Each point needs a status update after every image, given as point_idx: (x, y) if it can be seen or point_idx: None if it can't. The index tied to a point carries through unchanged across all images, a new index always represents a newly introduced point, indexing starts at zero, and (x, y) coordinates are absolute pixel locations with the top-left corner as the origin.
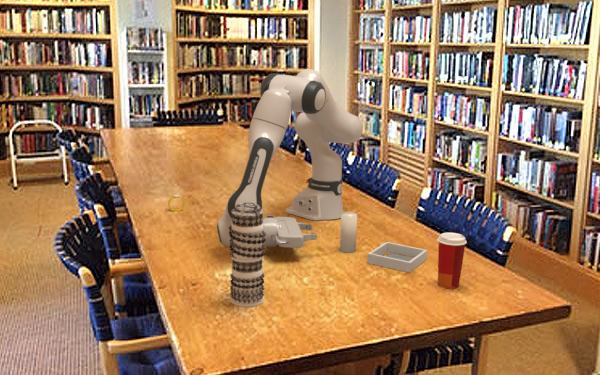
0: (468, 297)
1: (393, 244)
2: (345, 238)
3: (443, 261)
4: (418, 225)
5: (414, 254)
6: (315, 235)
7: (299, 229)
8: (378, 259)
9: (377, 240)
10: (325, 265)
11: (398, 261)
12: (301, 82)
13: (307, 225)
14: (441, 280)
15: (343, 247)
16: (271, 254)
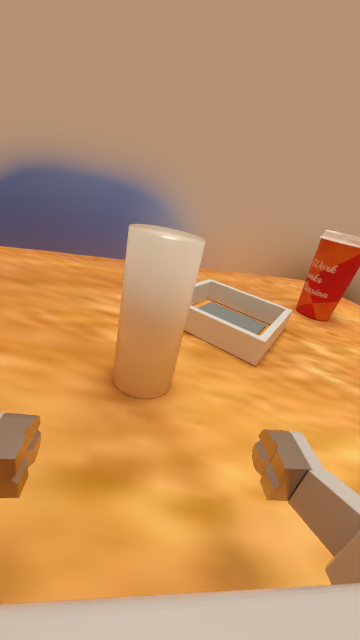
0: (345, 315)
1: None
2: (178, 342)
3: (350, 281)
4: (4, 247)
5: (200, 296)
6: (301, 443)
7: (341, 609)
8: (271, 339)
9: (69, 305)
10: None
11: (285, 319)
12: None
13: (19, 454)
14: (331, 311)
15: (167, 378)
16: None
